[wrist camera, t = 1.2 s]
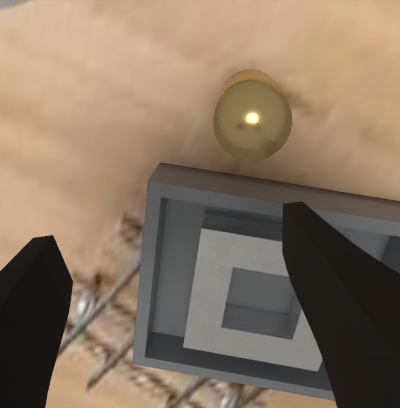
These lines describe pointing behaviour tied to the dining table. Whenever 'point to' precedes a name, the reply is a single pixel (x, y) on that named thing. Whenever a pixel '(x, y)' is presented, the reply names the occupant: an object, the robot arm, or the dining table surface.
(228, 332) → the inlet
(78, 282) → the dining table surface
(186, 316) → the box
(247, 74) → the connector
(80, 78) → the dining table surface
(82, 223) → the dining table surface
